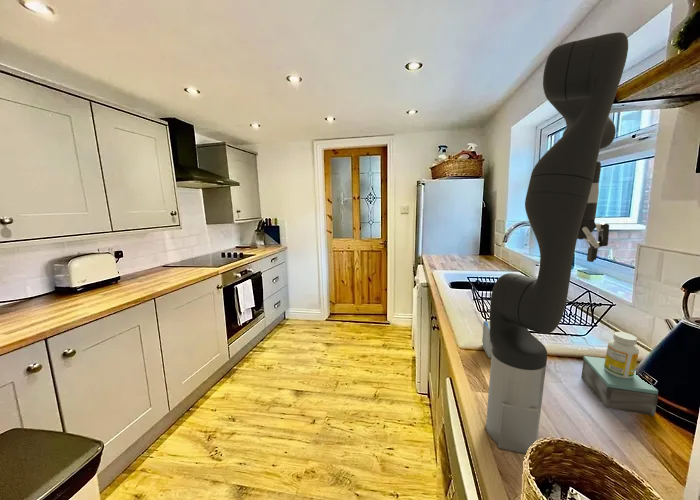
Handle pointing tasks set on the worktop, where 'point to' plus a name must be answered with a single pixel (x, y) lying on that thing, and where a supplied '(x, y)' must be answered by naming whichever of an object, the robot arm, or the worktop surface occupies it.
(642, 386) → the lid
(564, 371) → the worktop surface
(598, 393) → the storage box
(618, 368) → the supplement bottle
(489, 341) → the medicine box
